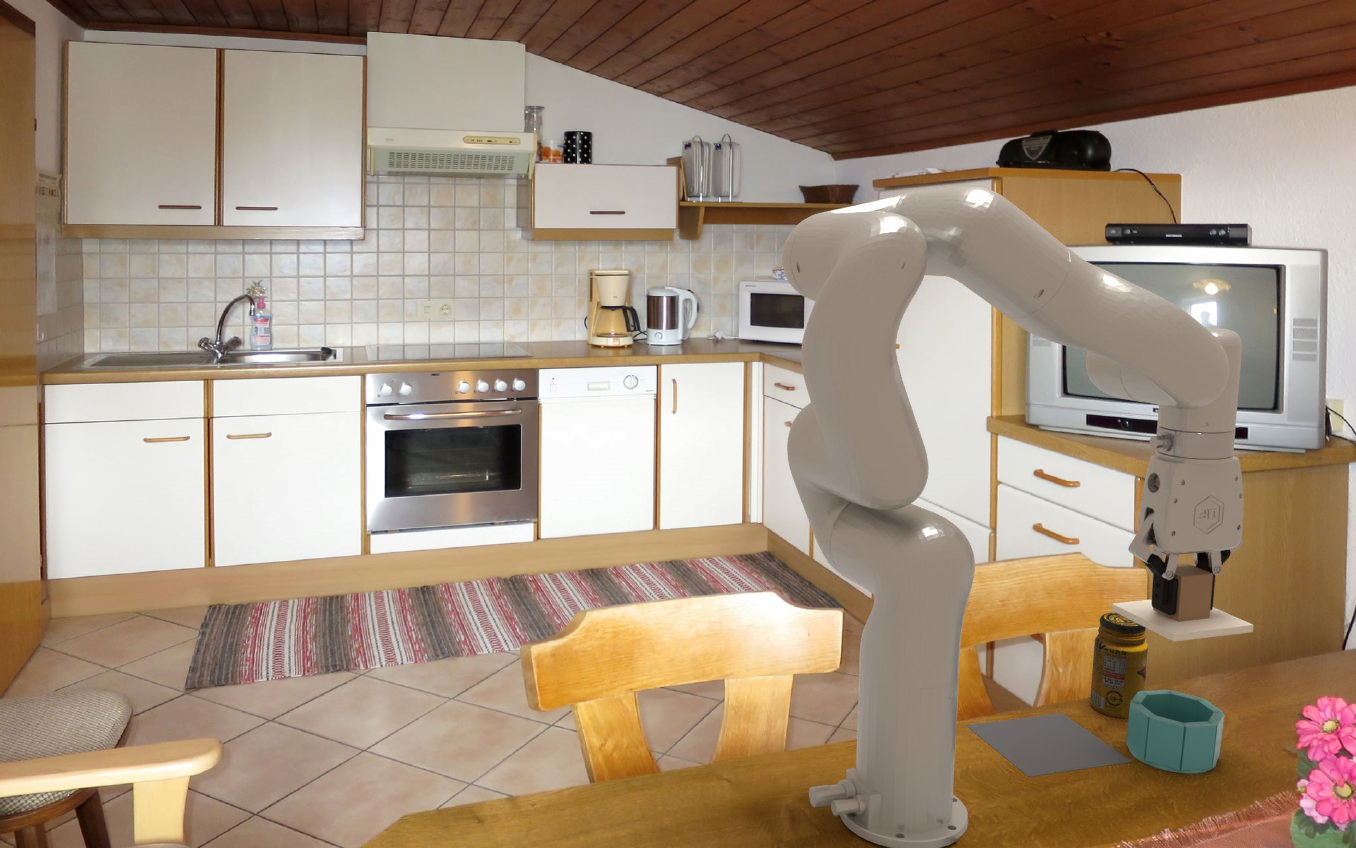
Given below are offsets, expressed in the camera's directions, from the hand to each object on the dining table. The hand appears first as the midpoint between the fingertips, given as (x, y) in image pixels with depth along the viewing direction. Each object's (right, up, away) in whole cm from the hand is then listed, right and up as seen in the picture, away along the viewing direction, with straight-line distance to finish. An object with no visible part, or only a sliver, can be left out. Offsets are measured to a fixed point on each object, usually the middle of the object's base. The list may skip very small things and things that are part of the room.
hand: (1181, 607), depth 121 cm
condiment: (-2, -16, +15) cm, 21 cm away
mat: (-13, -17, +5) cm, 22 cm away
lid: (0, -2, 0) cm, 2 cm away
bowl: (0, -17, +3) cm, 17 cm away
